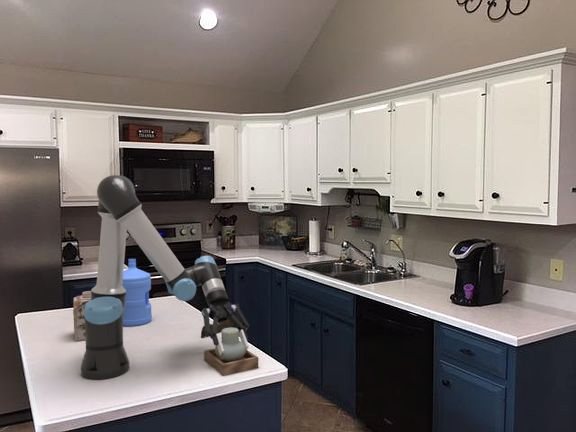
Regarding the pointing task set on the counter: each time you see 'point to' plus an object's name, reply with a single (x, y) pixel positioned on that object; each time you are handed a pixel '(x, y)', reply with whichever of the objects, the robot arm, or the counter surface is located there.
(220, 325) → the hand tool
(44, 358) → the counter surface
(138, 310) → the water jug
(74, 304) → the decorative jar
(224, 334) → the air freshener
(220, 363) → the tray
